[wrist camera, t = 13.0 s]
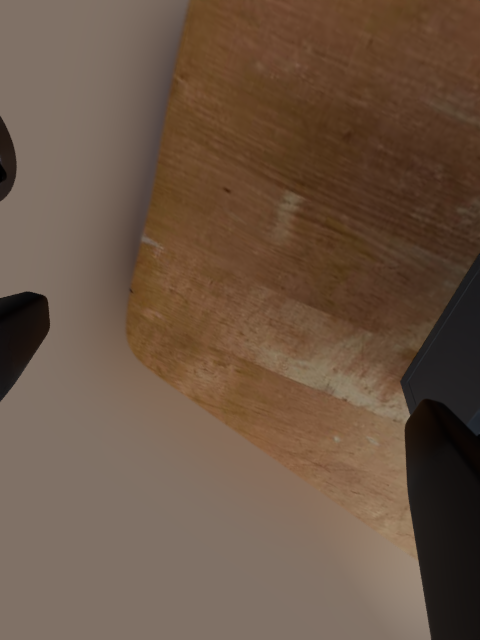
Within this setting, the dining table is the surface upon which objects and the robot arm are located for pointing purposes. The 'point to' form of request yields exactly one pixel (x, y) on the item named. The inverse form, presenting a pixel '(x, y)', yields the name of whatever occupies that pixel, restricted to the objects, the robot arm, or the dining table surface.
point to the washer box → (451, 357)
